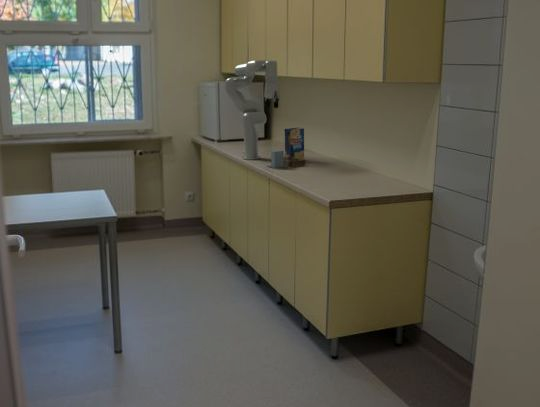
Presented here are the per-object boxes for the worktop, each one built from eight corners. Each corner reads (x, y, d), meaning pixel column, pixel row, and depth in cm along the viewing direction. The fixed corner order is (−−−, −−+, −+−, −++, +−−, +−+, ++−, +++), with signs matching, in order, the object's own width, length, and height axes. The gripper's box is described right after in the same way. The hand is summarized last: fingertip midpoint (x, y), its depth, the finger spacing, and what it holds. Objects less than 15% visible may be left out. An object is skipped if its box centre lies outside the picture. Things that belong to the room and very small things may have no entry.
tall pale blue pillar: (271, 166, 379) (271, 151, 377) (280, 165, 383) (280, 150, 380) (274, 167, 376) (274, 151, 374) (283, 166, 380) (283, 150, 378)
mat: (267, 166, 382) (267, 166, 382) (278, 165, 387) (278, 164, 387) (277, 169, 372) (277, 168, 372) (288, 167, 377) (288, 167, 377)
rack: (276, 163, 391) (276, 158, 390) (290, 162, 397) (290, 156, 396) (290, 167, 378) (290, 162, 377) (305, 165, 384) (305, 160, 383)
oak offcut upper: (280, 160, 390) (280, 157, 390) (283, 159, 396) (283, 156, 395) (286, 161, 389) (286, 158, 388) (289, 159, 394) (289, 156, 394)
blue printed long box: (304, 161, 402) (304, 128, 396) (290, 163, 396) (290, 129, 391) (298, 159, 407) (298, 127, 402) (285, 161, 401) (284, 128, 396)
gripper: (259, 80, 389) (259, 106, 393) (274, 81, 374) (274, 108, 379) (269, 79, 392) (269, 106, 397) (284, 80, 378) (284, 107, 383)
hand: (271, 107), depth 388 cm, fingers open, 9 cm apart
